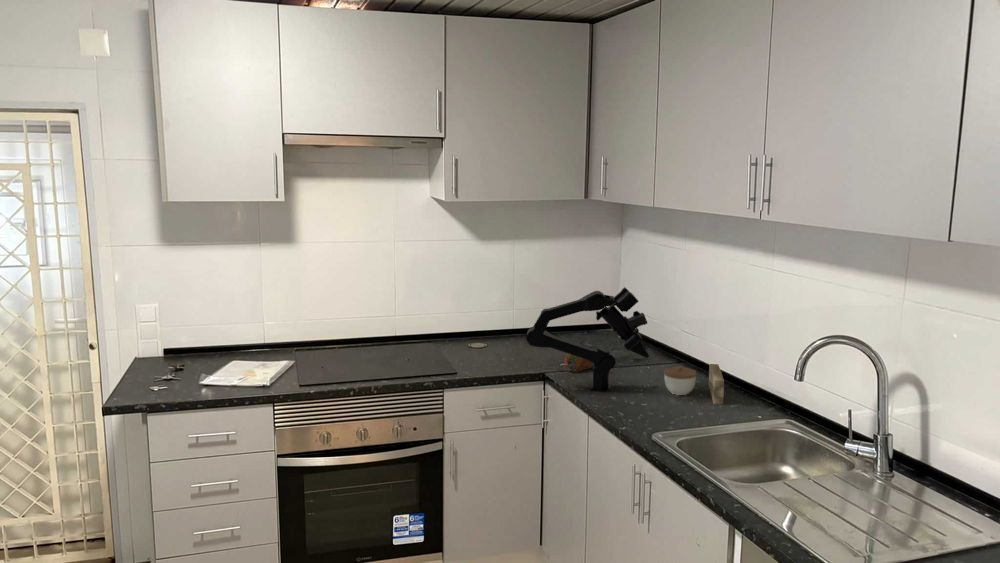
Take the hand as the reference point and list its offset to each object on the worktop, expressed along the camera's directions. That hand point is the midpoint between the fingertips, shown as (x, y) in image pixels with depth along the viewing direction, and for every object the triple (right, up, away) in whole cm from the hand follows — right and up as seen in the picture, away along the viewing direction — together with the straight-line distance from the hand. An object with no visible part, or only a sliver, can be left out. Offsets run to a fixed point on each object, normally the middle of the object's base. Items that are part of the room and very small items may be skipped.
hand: (646, 353), depth 258 cm
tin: (-20, -9, +28) cm, 35 cm away
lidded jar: (+11, -14, -2) cm, 18 cm away
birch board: (+23, -14, -4) cm, 27 cm away
